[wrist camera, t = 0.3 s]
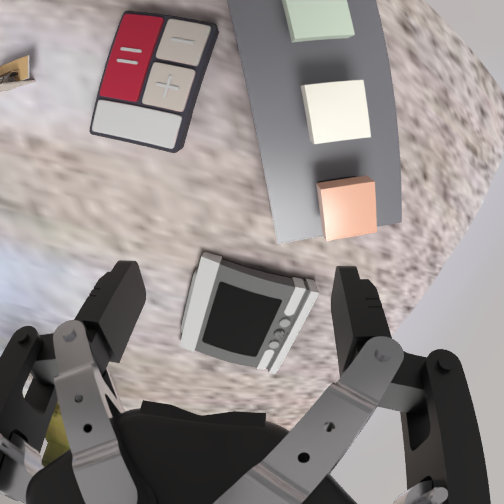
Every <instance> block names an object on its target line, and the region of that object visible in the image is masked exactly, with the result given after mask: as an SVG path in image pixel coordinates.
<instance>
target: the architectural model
mask: <svg viewBox="0 0 504 504" xmlns="http://www.w3.org/2000/svg"><path fill="white" fill-rule="evenodd" d="M29 58H30V55H27V56H25V57H22V58H19V59H17V60H14V61H12V62H10V63H7V64H5V65H2V66H0V78H1V77H3V76H6V75H8V74H10V76H9V77H8V78H12V77H15V82H8V78H7V79H4V77H3V79H0V92H2V91H8V90H11V89H14V88H17V87H20V86H23V85H26V84H29V83H32V82H35V80H29V81H22V80H25V79H28V78H29ZM16 72H17V73H16ZM14 73H15V74H16V75H14ZM11 74H12V75H13V76H12V75H11Z"/></svg>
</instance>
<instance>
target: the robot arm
mask: <svg viewBox="0 0 504 504" xmlns="http://www.w3.org/2000/svg"><path fill="white" fill-rule="evenodd" d="M89 295H90V296H88V298H87V299H86V301H85V303H84V304H83V306H82V308H81V309H80V311H79V313H78V314H77V316H76V318H75V319H74V320H70V321H66V322H64V323H62V324H61V325H60V326H59V327H58V328H57V329H56V330H55V332H54V333H53V334H46V335H39V334H38V332H37V331H36V329H35V328H34V327H32V326H25V327H22V328H20V329H19V330H17V331H16V332H15V333H14V334H13V336H12V338H11V339H10V341H9V343H8V345H7V346H6V348H5V350H4V352H3V354H2V355H1V357H0V494H3V495H5V496H7V497H9V498H11V499H13V500H16V501H21V502H23V503H25V504H357V503H356V502H355V501H354V500H353V499H352V498H351V497H350V496H349V495H348V494H347V493H346V492H345V491H344V489H343V488H342V487H341V486H340V485H339V484H338V483H337V482H336V481H335V480H334V478H333V477H332V476H331V475H330V473H331V471H332V470H333V469H334V468H335V466H336V465H337V464H338V462H339V461H340V459H341V458H342V457H343V456H344V454H345V453H346V452H347V450H348V449H349V447H350V446H351V445H352V443H353V442H354V440H355V439H356V438H357V436H358V435H359V433H360V432H361V430H362V429H363V427H364V426H365V424H366V423H367V421H368V420H369V418H370V417H371V415H372V414H373V412H374V411H375V409H376V407H377V406H378V407H383V408H387V409H392V410H396V411H400V413H401V422H402V430H403V439H404V450H405V462H406V475H407V491H406V492H404V493H402V494H401V495H399V496H398V497H397V498H396V500H395V501H394V503H393V504H491V502H490V493H489V484H488V477H487V470H486V465H485V458H484V453H483V447H482V442H481V437H480V432H479V428H478V423H477V419H476V415H475V411H474V407H473V403H472V400H471V395H470V392H469V388H468V384H467V381H466V378H465V374H464V371H463V368H462V365H461V362H460V360H459V359H458V357H457V356H456V355H455V354H453V353H452V352H450V351H447V350H443V349H438V350H435V351H432V352H431V353H430V354H429V356H428V357H422V356H417V355H413V354H409V353H406V352H404V351H403V349H402V347H401V346H400V344H399V343H398V342H396V341H395V340H393V339H392V337H391V334H390V330H389V327H388V324H387V320H386V317H385V314H384V310H383V308H382V304H381V301H380V298H379V295H378V292H377V289H376V287H375V286H374V285H373V284H372V283H371V282H370V281H369V279H360V277H359V274H358V270H357V268H356V266H337V267H336V272H335V278H334V284H333V290H332V296H331V313H332V320H333V327H334V334H335V341H336V349H337V356H338V364H339V373H340V379H339V380H338V381H337V382H336V383H332V384H331V385H330V386H329V387H328V388H327V389H326V390H325V392H324V393H323V394H322V395H321V397H320V398H319V399H318V400H317V401H316V403H315V404H314V405H313V406H312V407H311V408H310V410H309V411H308V412H307V413H306V414H305V415H304V417H303V418H302V419H301V420H300V421H299V422H298V423H297V424H296V426H295V427H294V428H293V429H292V430H291V431H288V430H287V429H285V428H283V427H281V426H279V425H277V424H274V423H271V422H267V421H266V413H251V412H235V411H234V412H227V413H220V414H212V415H204V416H201V415H196V414H194V413H191V412H188V411H186V410H183V409H180V408H178V407H175V406H173V405H169V404H162V403H156V402H150V401H144V400H143V402H142V405H141V408H140V409H133V410H129V411H126V412H125V410H124V408H123V406H122V404H121V402H120V399H119V397H118V394H117V392H116V389H115V386H114V384H113V381H112V378H111V375H110V373H109V370H108V368H107V365H108V363H109V361H110V362H116V363H119V362H120V360H121V357H122V355H123V353H124V350H125V348H126V345H127V343H128V341H129V338H130V336H131V334H132V331H133V329H134V327H135V324H136V322H137V320H138V317H139V315H140V313H141V311H142V308H143V306H144V304H145V300H146V290H145V286H144V283H143V279H142V276H141V272H140V269H139V266H138V263H137V262H136V261H121V260H120V261H118V262H117V263H116V265H115V266H114V268H113V269H112V271H111V272H107V273H106V274H105V275H104V276H102V277H101V278H100V279H99V280H98V282H97V283H96V285H95V286H94V290H92V291H91V293H90V294H89ZM29 373H31V374H32V375H33V377H34V378H33V380H32V382H31V384H30V387H29V389H28V391H27V394H26V396H25V398H24V397H23V393H22V391H23V387H24V384H25V382H26V380H27V378H28V376H29ZM57 401H58V403H59V407H60V412H61V416H62V420H63V424H64V428H65V431H66V435H67V439H68V442H69V446H70V449H69V450H68V451H66V452H65V453H64V454H62V455H61V456H59V457H58V458H56V459H55V460H54V461H52V462H51V463H49V464H48V465H46V466H45V467H44V466H43V465H42V461H41V456H40V451H41V447H42V444H43V441H44V438H45V435H46V432H47V429H48V426H49V423H50V421H51V418H52V415H53V412H54V409H55V407H56V404H57Z"/></svg>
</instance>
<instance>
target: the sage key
mask: <svg viewBox="0 0 504 504" xmlns="http://www.w3.org/2000/svg"><path fill="white" fill-rule="evenodd" d="M282 3H283V7H284V11H285V15H286V20H287V24H288V28H289V33H290V37H291V42H292V43H293V42H302V41H312V40H324V39H341V38H349V37H351V36H353V35H355V33H354V29H353V24H352V20H351V15H350V11H349V7H348V3H347V0H282Z"/></svg>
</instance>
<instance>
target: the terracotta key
mask: <svg viewBox="0 0 504 504" xmlns="http://www.w3.org/2000/svg"><path fill="white" fill-rule="evenodd" d="M316 185H317V193H318V201H319V209H320V217H321V226H322V233H323V235H324V237H325V239H326V241H330V240H335V239H341V238H347V237H352V236H358V235H364V234H369V233H375V232H377V218H376V194H375V181H374V180H372V179H371V178H370V177H369V176H360V177H353V178H348V177H345V178H338V179H332V180H325V181H320V183H316Z"/></svg>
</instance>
